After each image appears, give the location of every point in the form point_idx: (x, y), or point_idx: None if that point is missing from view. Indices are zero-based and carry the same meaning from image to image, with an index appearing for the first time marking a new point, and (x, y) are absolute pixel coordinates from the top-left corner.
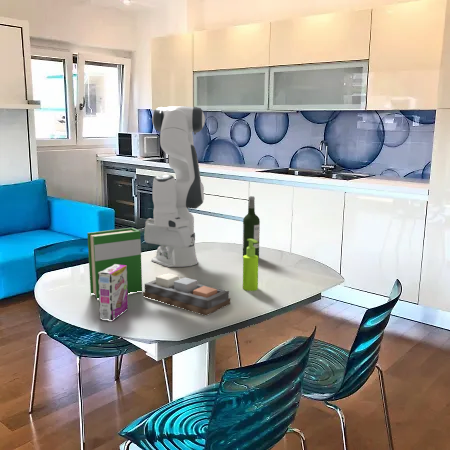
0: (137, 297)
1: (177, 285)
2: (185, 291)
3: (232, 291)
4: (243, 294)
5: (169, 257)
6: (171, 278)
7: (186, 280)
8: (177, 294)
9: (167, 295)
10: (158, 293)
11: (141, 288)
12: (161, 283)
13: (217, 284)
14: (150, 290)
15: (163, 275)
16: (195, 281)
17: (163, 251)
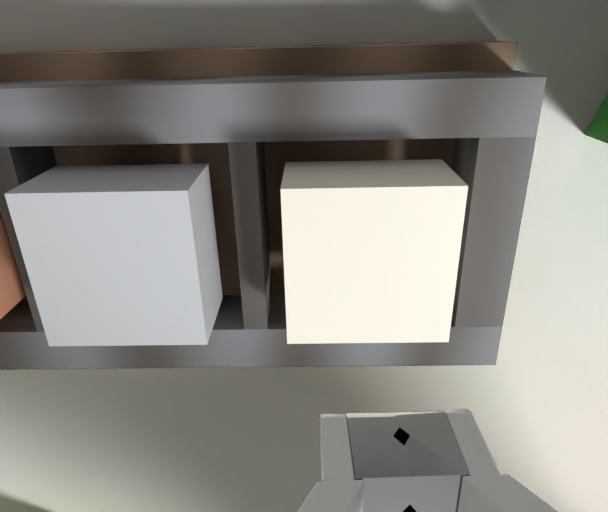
0: (542, 7)
1: (146, 181)
2: (58, 171)
3: (90, 473)
4: (8, 470)
5: (321, 421)
6: (283, 246)
7: (116, 287)
8: (77, 85)
9: (218, 79)
10: (334, 76)
11: (606, 135)
12: (372, 170)
13: (242, 507)
14: (441, 73)
15: (425, 268)
16: (44, 320)
17: (484, 490)
